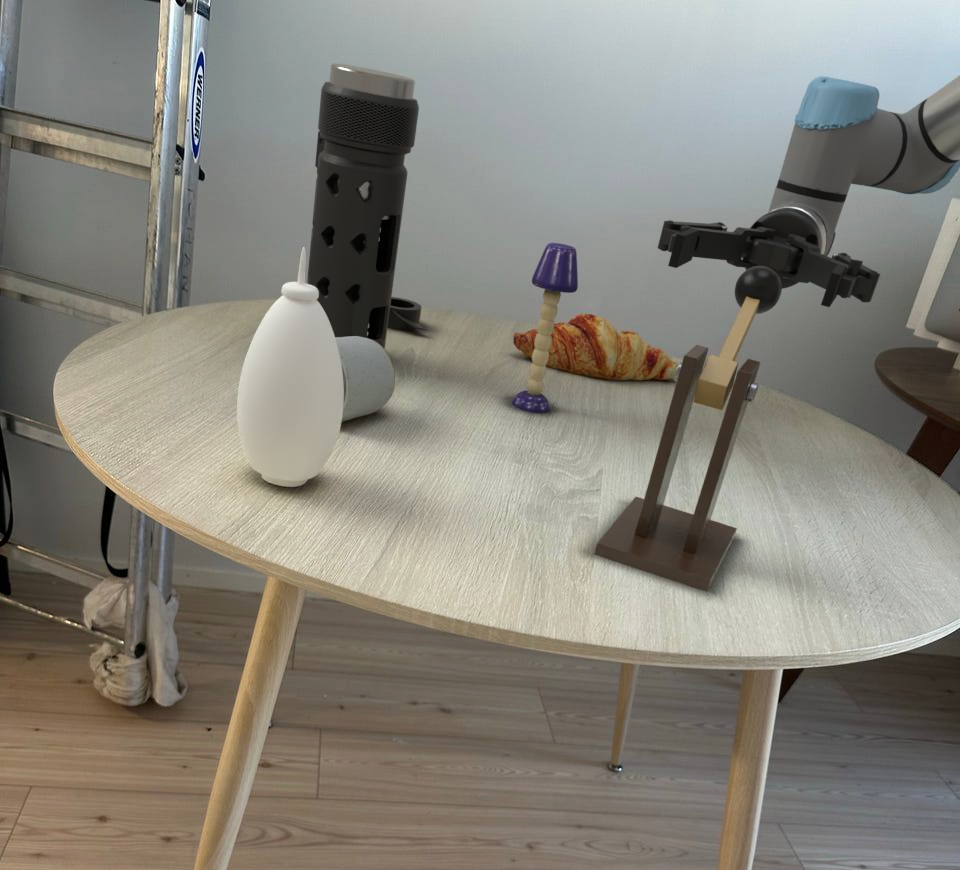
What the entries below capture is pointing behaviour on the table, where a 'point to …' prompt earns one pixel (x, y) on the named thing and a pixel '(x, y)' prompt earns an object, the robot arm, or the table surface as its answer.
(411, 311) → the duct tape
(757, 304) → the lever
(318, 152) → the water bottle
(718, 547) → the stand
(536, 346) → the toy lamp
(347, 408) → the ceramic mug
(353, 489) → the table surface
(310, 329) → the air blower bulb
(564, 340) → the croissant
